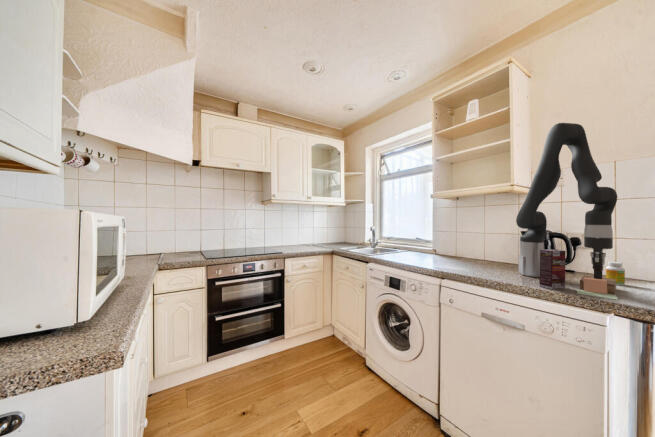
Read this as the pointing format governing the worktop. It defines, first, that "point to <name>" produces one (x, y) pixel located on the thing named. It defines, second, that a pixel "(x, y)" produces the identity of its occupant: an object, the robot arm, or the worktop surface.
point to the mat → (597, 294)
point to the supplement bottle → (616, 272)
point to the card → (595, 285)
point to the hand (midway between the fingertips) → (598, 279)
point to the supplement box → (552, 268)
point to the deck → (610, 284)
